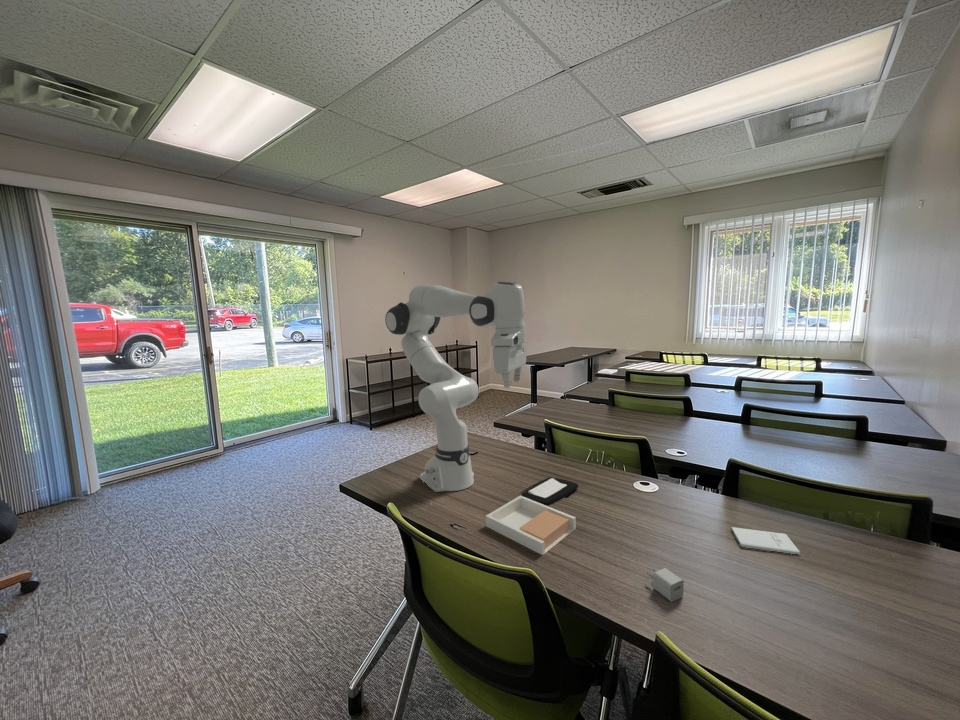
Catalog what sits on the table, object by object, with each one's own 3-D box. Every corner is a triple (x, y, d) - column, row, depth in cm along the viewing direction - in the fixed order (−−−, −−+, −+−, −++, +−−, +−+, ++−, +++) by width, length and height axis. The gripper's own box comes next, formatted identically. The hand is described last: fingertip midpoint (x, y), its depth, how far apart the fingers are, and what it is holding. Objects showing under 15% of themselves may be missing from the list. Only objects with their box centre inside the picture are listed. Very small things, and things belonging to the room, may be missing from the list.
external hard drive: (730, 531, 104) (785, 538, 100) (740, 549, 96) (799, 557, 92) (730, 526, 103) (785, 532, 99) (740, 543, 96) (800, 551, 92)
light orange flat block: (519, 537, 103) (519, 527, 103) (545, 519, 111) (545, 510, 111) (543, 549, 97) (543, 539, 97) (568, 529, 106) (568, 519, 105)
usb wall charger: (670, 602, 79) (670, 585, 79) (643, 582, 86) (644, 565, 85) (683, 596, 81) (683, 579, 80) (656, 576, 87) (656, 560, 87)
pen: (451, 525, 113) (451, 521, 113) (505, 545, 102) (505, 542, 101) (449, 526, 112) (449, 523, 112) (503, 547, 101) (503, 543, 101)
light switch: (549, 473, 141) (581, 480, 131) (549, 480, 142) (582, 488, 131) (514, 491, 128) (546, 501, 118) (514, 500, 128) (547, 510, 118)
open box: (486, 528, 109) (485, 515, 109) (520, 507, 121) (520, 495, 120) (542, 558, 95) (542, 543, 95) (575, 530, 106) (575, 517, 106)
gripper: (511, 335, 120) (512, 377, 122) (488, 340, 102) (490, 390, 103) (530, 334, 118) (531, 378, 120) (510, 339, 99) (512, 391, 101)
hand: (512, 384), depth 111 cm, fingers open, 8 cm apart
